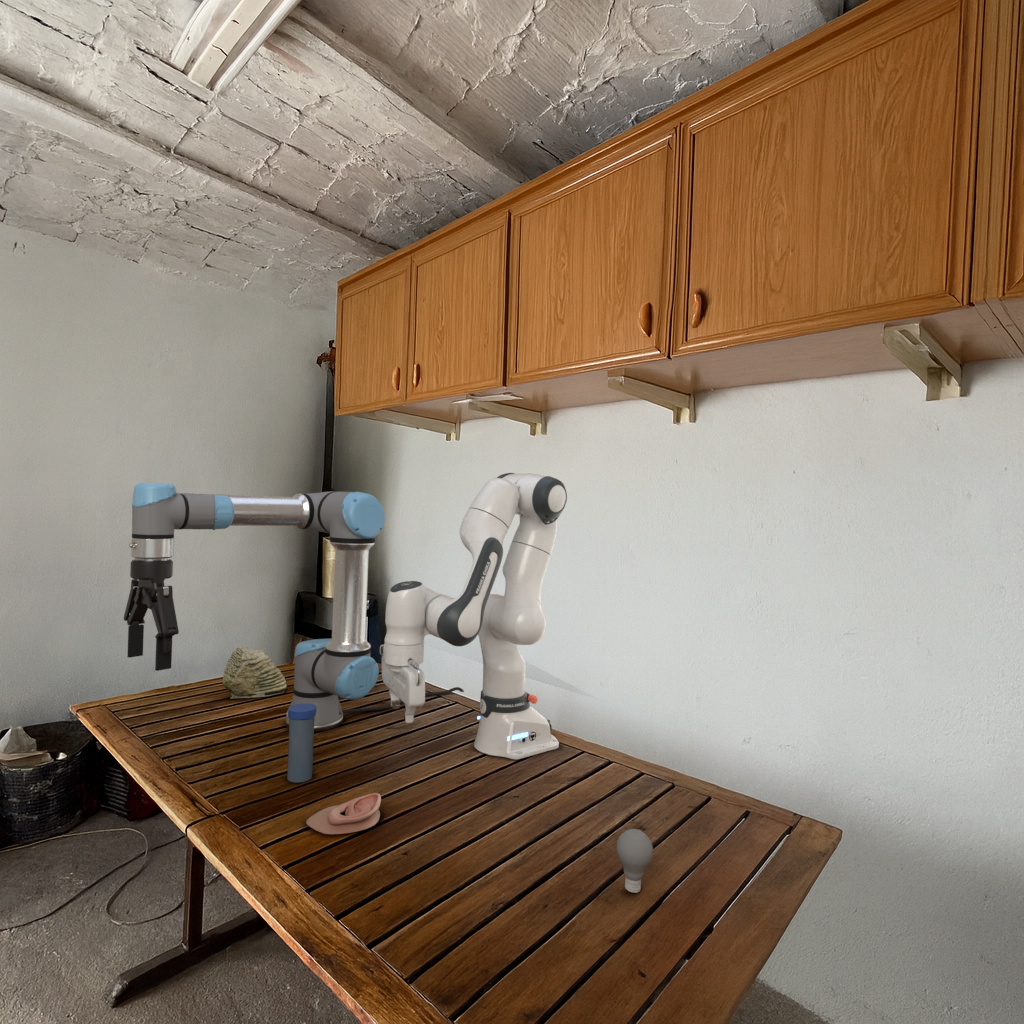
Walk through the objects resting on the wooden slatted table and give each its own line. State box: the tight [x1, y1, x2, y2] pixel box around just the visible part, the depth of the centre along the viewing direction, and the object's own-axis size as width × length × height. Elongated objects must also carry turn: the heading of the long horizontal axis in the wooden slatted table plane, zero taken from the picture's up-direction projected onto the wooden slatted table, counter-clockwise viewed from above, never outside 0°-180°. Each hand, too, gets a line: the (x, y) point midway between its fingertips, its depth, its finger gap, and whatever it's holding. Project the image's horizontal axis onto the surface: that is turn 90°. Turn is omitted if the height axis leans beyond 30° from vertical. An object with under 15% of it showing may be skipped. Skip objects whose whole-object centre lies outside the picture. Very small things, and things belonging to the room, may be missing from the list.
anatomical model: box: [305, 792, 382, 835], centre depth 124 cm, size 13×4×12 cm
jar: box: [286, 716, 315, 784], centre depth 142 cm, size 5×5×15 cm
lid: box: [287, 703, 316, 720], centre depth 142 cm, size 6×6×2 cm
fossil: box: [222, 646, 288, 699], centre depth 198 cm, size 9×18×15 cm, turn 132°
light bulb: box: [615, 828, 654, 894], centre depth 106 cm, size 6×6×10 cm
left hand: (148, 662), depth 129 cm, fingers open, 13 cm apart
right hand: (401, 714), depth 143 cm, fingers open, 8 cm apart
